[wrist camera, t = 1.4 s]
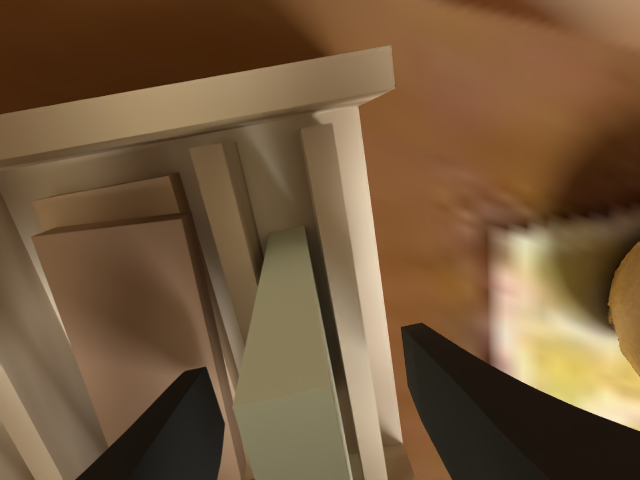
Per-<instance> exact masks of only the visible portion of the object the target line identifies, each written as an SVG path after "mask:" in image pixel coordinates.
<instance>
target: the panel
mask: <svg viewBox="0 0 640 480" xmlns="http://www.w3.org/2000/svg"><path fill="white" fill-rule="evenodd" d="M232 408H233V411H234V414H235V417H236V420H237V424H238V427H239V430H240V433H241V436H242V440H243V443H244V446H245V449H246V452H247V456H248V459H249V462H250V465H251V468H252V472H253V475H254V478H255V480H353V478H352V472H351V467H350V462H349V456H348V451H347V445H346V440H345V434H344V429H343V424H342V418H341V413H340V407H339V402H338V396H337V391H336V386H335V381H334V376H333V370H332V365H331V360H330V355H329V350H328V345H327V340H326V335H325V330H324V324H323V319H322V314H321V309H320V304H319V299H318V294H317V289H316V284H315V278H314V273H313V268H312V263H311V258H310V253H309V248H308V243H307V237H306V232H305V227H304V226H300V227H294V228H289V229H284V230H279V231H273V232H270V234H269V239H268V243H267V248H266V253H265V257H264V262H263V267H262V271H261V276H260V281H259V285H258V290H257V295H256V299H255V304H254V309H253V313H252V318H251V323H250V327H249V332H248V337H247V341H246V346H245V351H244V355H243V360H242V364H241V369H240V374H239V378H238V383H237V388H236V392H235V397H234V402H233V406H232Z"/></svg>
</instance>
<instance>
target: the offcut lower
mask: <svg viewBox="0 0 640 480" xmlns="http://www.w3.org/2000/svg"><path fill="white" fill-rule="evenodd" d="M31 203H32V205H33V207H34V209H35V212H36V214H37V216H38V219H39V221H40V223H41V226H42V228H43V230H44V232H45V231H48V230H50V229H53V228H56V227H64V226H73V225H81V224H90V223H98V222H107V221H115V220H124V219H132V218H141V217H149V216H158V215H166V214H175V213H183V212H191V211H190V207H189V204H188V200H187V197H186V194H185V190H184V187H183V184H182V180H181V177H180V173H174V174H168V175H163V176H157V177H152V178H147V179H141V180H136V181H130V182H125V183H119V184H114V185H109V186H103V187H98V188H92V189H87V190H82V191H76V192H71V193H65V194H60V195H55V196H50V197H46V198H42V199H38V200H34V201H31ZM194 225H195V224H194ZM195 230H196V228H195ZM196 234H197V231H196ZM197 239H198V244H199V248H200V253H201V257H202V262H203V266H204V271H205V275H206V280H207V285H208V289H209V294H210V298H211V303H212V307H213V312H214V317H215V321H216V326H217V330H218V335H219V339H220V344H221V348H222V353H223V358H224V362H225V367H226V371H227V376H228V380H229V385H230V390H231V394H232V399H233V402H234V397H235V392H236V388H237V383H238V378H239V373H238V370H237V367H236V363H235V360H234V357H233V353H232V350H231V346H230V343H229V340H228V336H227V333H226V329H225V326H224V323H223V319H222V316H221V312H220V309H219V306H218V302H217V299H216V295H215V292H214V289H213V285H212V282H211V279H210V275H209V272H208V268H207V265H206V262H205V258H204V255H203V251H202V248H201V245H200V241H199V238H198V234H197ZM239 431H240V430H239ZM240 435H241V433H240ZM241 440H242V436H241ZM242 444H243V449H244V453H245V458H246V462H247V463H246V470H245V478H244V480H249V479H254V475H253V472H252V468H251V465H250V462H249V459H248V456H247V452H246V449H245V446H244V443H243V440H242Z"/></svg>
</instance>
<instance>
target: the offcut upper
mask: <svg viewBox="0 0 640 480" xmlns="http://www.w3.org/2000/svg"><path fill="white" fill-rule="evenodd" d="M31 239H32V241H33V244H34V247H35V249H36V252H37V255H38V258H39V260H40V263H41V266H42V268H43V271H44V274H45V277H46V279H47V282H48V285H49V287H50V290H51V293H52V296H53V298H54V301H55V304H56V306H57V309H58V312H59V315H60V317H61V320H62V323H63V325H64V328H65V331H66V334H67V336H68V339H69V342H70V344H71V347H72V350H73V352H74V355H75V358H76V361H77V363H78V366H79V369H80V371H81V374H82V377H83V380H84V382H85V385H86V388H87V390H88V393H89V396H90V399H91V401H92V404H93V407H94V409H95V412H96V415H97V418H98V420H99V423H100V426H101V428H102V431H103V434H104V437H105V439H106V442H107V445H108V447H110V446H111V445H112V444H113V443H114V442H115V441H116V440H117V439H118V438H119V437H120V436H121V435H122V434H123V433H124V432H125V431H126V430H127V429H128V428H129V427H130V426H131V425H132V424H133V423H134V422H135V421H136V420H137V419H138V418H139V417H140V416H141V415H142V414H143V413H144V412H145V411H146V410H147V409H148V408H149V407H150V406H151V405H152V403H153V402H154V401H155V400H156V399H157V398H158V397H159V396H160V395H161V394H162V393H163V392H164V391H165V390H166V389H167V388H168V387H169V386H170V385H171V384H172V383H173V382H174V381H175V380H176V379H177V378H178V377H179V376H180V375H181V374H182V373H183V372H184V371H186V370H191V369H196V368H201V367H207V370H208V373H209V376H210V379H211V382H212V385H213V388H214V391H215V394H216V398H217V401H218V404H219V407H220V410H221V413H222V416H223V419H224V422H225V431H224V441H223V449H222V457H221V464H220V469H219V473H218V478H217V480H244V478H245V470H246V463H247V462H246V458H245V453H244V449H243V444H242V440H241V435H240V431H239V427H238V424H237V420H236V417H235V414H234V411H233V408H232V406H233V399H232V394H231V390H230V385H229V380H228V376H227V371H226V367H225V362H224V358H223V353H222V348H221V344H220V339H219V335H218V330H217V326H216V321H215V317H214V312H213V307H212V303H211V298H210V294H209V289H208V285H207V280H206V275H205V271H204V266H203V262H202V257H201V253H200V248H199V244H198V239H197V234H196V230H195V225H194V221H193V216H192V212H183V213H175V214H166V215H158V216H149V217H141V218H132V219H124V220H115V221H107V222H98V223H90V224H81V225H73V226H64V227H56V228H53V229H50V230H48V231H45V232H42V233H40V234H37V235H34V236H32V237H31Z"/></svg>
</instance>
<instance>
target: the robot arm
mask: <svg viewBox="0 0 640 480" xmlns="http://www.w3.org/2000/svg"><path fill="white" fill-rule="evenodd" d="M401 332H402V340H403V349H404V357H405V366H406V374H407V383H408V388H409V390H410V393H411V395H412V398H413V401H414V403H415V406H416V408H417V411H418V413H419V416H420V418H421V421H422V423H423V425H424V427H425V429H426V431H427V432H428V434H429V436H430V438H431V440H432V442H433V444H434V446H435V448H436V450H437V452H438V454H439V455H440V457H441V459H442V461H443V463H444V465H445V467H446V469H447V471H448V472H449V474H450V476H451V478H452V480H640V431H638V430H635V429H632V428H629V427H627V426H624V425H621V424H619V423H616V422H614V421H611V420H608V419H606V418H603V417H600V416H598V415H595V414H592V413H590V412H588V411H585V410H583V409H580V408H578V407H575V406H573V405H571V404H568V403H566V402H564V401H562V400H559V399H557V398H555V397H553V396H551V395H548V394H546V393H544V392H542V391H539V390H537V389H535V388H533V387H531V386H529V385H527V384H525V383H523V382H521V381H519V380H517V379H515V378H513V377H512V376H510V375H508V374H506V373H504V372H502V371H500V370H498V369H496V368H495V367H493V366H491V365H489V364H488V363H486V362H484V361H482V360H481V359H479V358H477V357H476V356H474V355H472V354H471V353H469V352H467V351H466V350H464V349H462V348H461V347H459V346H458V345H456V344H454V343H453V342H451V341H450V340H448V339H447V338H445V337H443V336H442V335H440V334H439V333H437V332H436V331H434V330H433V329H431V328H429V327H428V326H426V325H425V324H423V323H418V324H413V325H409V326H404V327H401ZM224 431H225V422H224V419H223V416H222V413H221V410H220V407H219V404H218V401H217V398H216V394H215V391H214V388H213V385H212V382H211V379H210V376H209V373H208V370H207V367H201V368H196V369H191V370H186V371H184V372H183V373H182V374H181V375H180V376H179V377H178V378H177V379H176V380H175V381H174V382H173V383H172V384H171V385H170V386H169V387H168V388H167V389H166V390H165V391H164V392H163V393H162V394H161V395H160V396H159V397H158V398H157V399H156V400H155V401H154V402H153V403H152V405H151V406H150V407H149V408H148V409H147V410H146V411H145V412H144V413H143V414H142V415H141V416H140V417H139V418H138V419H137V420H136V421H135V422H134V423H133V424H132V425H131V426H130V427H129V428H128V429H127V430H126V431H125V432H124V433H123V434H122V435H121V436H120V437H119V438H118V439H117V440H116V441H115V442H114V443H113V444H112V445H111V446H110V447H109V448H108V449H107V450H106V451H105V452H104V453H103V454H102V455H101V456H100V457H99V458H98V459H96V460H95V461H94V462H93V463H92V464H91V465H90V466H89V467H88V468H87V469H86V470H85V471H84V472H83V473H82V474H81V475H80V476H78V477H77V478H76V479H75V480H217V478H218V473H219V469H220V464H221V457H222V449H223V441H224Z"/></svg>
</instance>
